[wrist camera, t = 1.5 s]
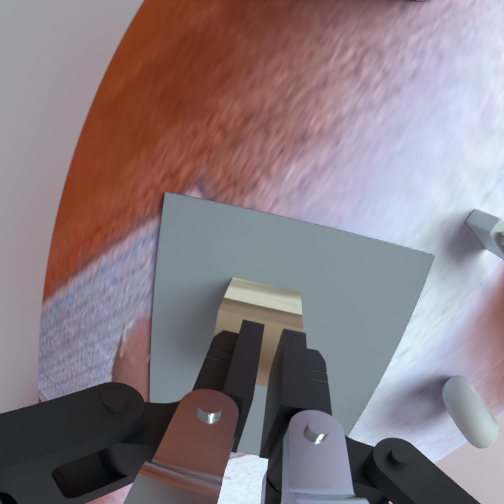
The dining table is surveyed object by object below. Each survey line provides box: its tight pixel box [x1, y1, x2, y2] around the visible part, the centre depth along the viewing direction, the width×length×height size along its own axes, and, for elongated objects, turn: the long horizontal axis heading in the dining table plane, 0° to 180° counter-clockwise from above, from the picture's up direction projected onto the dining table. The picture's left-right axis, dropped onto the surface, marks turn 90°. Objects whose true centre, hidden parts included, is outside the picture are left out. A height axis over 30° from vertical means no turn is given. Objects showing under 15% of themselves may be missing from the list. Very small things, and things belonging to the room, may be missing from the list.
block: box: [214, 277, 303, 387], centre depth 26 cm, size 6×6×6 cm
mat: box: [150, 192, 434, 456], centre depth 30 cm, size 30×24×1 cm
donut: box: [442, 376, 499, 448], centre depth 25 cm, size 10×4×10 cm, turn 49°
